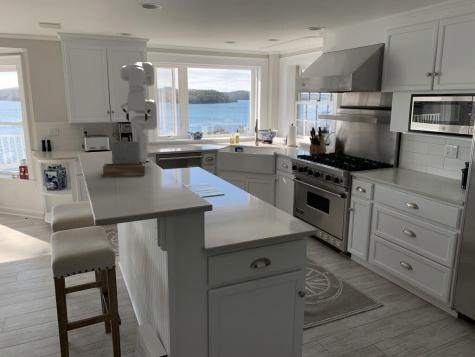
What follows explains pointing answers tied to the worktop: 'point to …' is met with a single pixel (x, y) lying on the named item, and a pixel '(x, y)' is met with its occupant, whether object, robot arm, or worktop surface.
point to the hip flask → (125, 152)
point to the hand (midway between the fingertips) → (137, 120)
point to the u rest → (123, 169)
